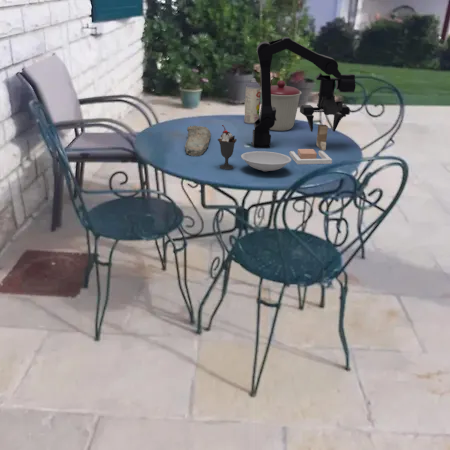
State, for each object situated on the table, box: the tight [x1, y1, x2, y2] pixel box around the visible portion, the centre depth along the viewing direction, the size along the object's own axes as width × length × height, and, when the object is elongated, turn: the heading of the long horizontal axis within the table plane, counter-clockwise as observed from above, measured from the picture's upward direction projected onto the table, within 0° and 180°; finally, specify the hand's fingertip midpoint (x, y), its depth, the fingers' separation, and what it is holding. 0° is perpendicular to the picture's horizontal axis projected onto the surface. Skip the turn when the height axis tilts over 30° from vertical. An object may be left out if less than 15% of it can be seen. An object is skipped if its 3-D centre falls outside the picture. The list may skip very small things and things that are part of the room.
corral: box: [288, 150, 333, 165], centre depth 208 cm, size 13×12×2 cm
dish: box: [240, 150, 292, 173], centre depth 194 cm, size 18×14×5 cm
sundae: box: [217, 124, 237, 171], centre depth 194 cm, size 7×7×15 cm
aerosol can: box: [243, 77, 261, 125], centre depth 254 cm, size 7×7×20 cm
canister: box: [260, 79, 302, 132], centre depth 245 cm, size 18×18×21 cm
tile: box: [297, 148, 318, 159], centre depth 211 cm, size 6×6×2 cm
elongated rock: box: [184, 125, 212, 157], centre depth 223 cm, size 35×5×10 cm
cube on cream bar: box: [315, 124, 329, 151], centre depth 221 cm, size 8×3×9 cm, turn 8°
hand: (322, 131), depth 220 cm, fingers open, 9 cm apart
